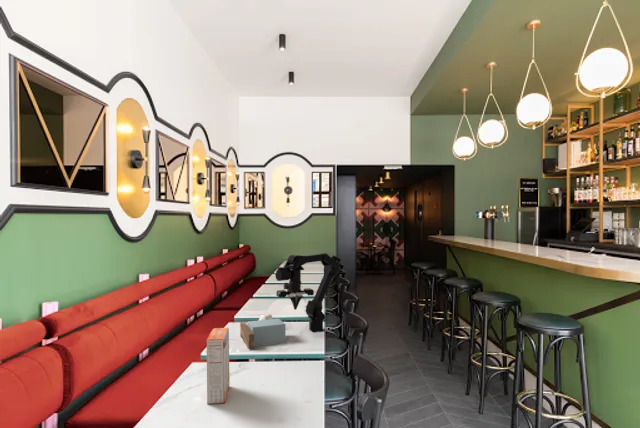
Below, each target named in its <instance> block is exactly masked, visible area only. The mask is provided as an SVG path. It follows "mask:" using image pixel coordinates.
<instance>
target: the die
mask: <svg viewBox="0 0 640 428" xmlns="http://www.w3.org/2000/svg"><path fill="white" fill-rule="evenodd" d="M268 319H274V318H273V316H272V314H267V313H266V314H261V315H260V317H259V319H258V320H268Z"/></svg>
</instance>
